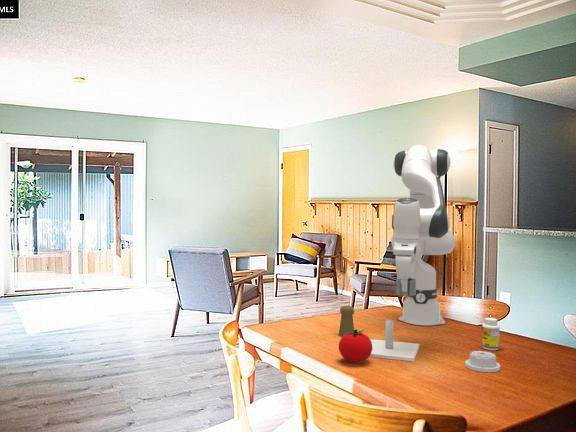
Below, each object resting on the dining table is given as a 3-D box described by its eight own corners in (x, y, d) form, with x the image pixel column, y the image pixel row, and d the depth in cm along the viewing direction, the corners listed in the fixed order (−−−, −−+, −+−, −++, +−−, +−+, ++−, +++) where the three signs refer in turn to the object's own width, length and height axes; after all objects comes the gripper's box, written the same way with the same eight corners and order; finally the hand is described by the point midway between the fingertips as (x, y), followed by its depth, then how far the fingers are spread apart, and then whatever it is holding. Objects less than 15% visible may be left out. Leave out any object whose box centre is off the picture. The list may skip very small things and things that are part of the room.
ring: (397, 292, 178) (397, 277, 178) (416, 293, 176) (416, 278, 176) (395, 295, 172) (395, 279, 172) (414, 296, 170) (414, 281, 170)
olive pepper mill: (354, 337, 193) (354, 307, 193) (337, 336, 194) (338, 307, 194) (355, 333, 199) (355, 304, 199) (339, 332, 200) (339, 304, 200)
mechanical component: (482, 361, 166) (458, 365, 162) (483, 347, 166) (458, 351, 162) (507, 371, 157) (481, 375, 153) (507, 356, 157) (482, 360, 153)
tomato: (331, 359, 166) (332, 328, 165) (358, 355, 171) (358, 324, 171) (352, 369, 157) (352, 335, 156) (379, 363, 162) (379, 331, 162)
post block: (367, 341, 188) (368, 313, 188) (419, 346, 182) (419, 317, 181) (356, 355, 171) (357, 324, 171) (413, 361, 165) (414, 329, 165)
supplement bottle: (479, 346, 183) (479, 317, 183) (494, 346, 184) (495, 317, 183) (485, 350, 178) (486, 320, 177) (502, 350, 178) (502, 320, 178)
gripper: (400, 244, 184) (399, 284, 185) (392, 249, 165) (392, 293, 166) (419, 245, 182) (418, 285, 183) (413, 250, 163) (412, 295, 163)
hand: (405, 289), depth 174 cm, fingers closed on ring, 6 cm apart
